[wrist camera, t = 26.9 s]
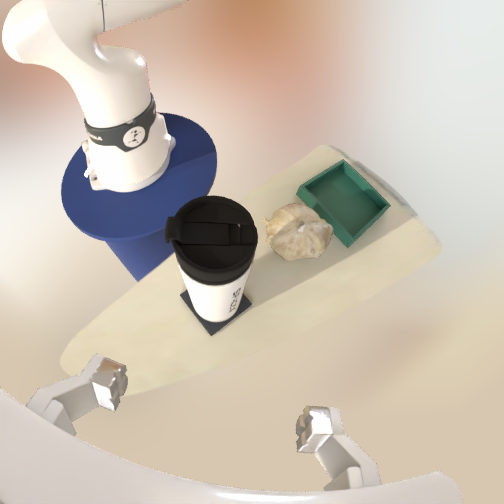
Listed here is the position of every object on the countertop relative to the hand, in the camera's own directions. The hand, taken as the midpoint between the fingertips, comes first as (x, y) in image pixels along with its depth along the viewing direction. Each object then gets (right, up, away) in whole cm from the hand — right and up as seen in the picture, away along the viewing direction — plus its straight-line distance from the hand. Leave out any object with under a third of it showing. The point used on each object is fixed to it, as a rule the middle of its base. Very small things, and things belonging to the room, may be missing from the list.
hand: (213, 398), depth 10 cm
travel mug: (-3, 0, +26) cm, 26 cm away
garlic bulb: (+7, +7, +31) cm, 33 cm away
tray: (+18, +15, +36) cm, 43 cm away
